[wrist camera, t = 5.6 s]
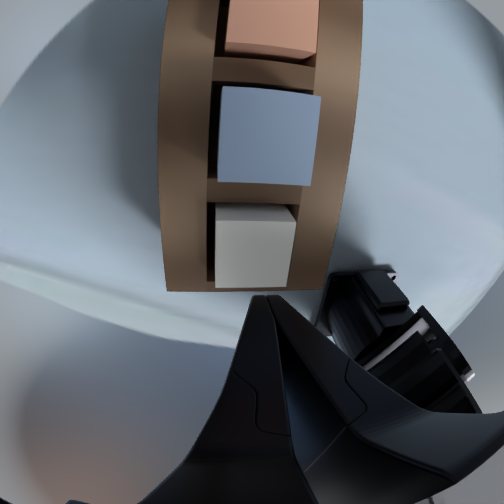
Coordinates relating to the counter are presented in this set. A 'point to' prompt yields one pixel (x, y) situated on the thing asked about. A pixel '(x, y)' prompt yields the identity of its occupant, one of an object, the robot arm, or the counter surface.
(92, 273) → the counter surface
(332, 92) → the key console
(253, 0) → the key terracotta
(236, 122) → the key blue
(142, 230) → the counter surface
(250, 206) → the key cream
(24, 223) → the counter surface
